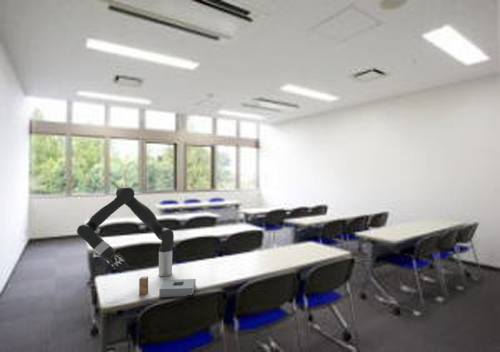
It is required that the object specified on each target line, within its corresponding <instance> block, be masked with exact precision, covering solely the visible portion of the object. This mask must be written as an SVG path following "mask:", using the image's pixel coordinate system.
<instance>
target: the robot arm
mask: <svg viewBox="0 0 500 352" xmlns="http://www.w3.org/2000/svg"><path fill="white" fill-rule="evenodd" d="M115 195H116V196H115V198H114V199H112V200H111V201H110V202H109V203H107V204H106V205H104V206H103V207H102V208H100V209H98V210H97V211H96V212H95V213H94V214H93V215H92V216H91V217H90V218H89V220H88V221H87V223H85V224H80V225H79V226H78V227H77V229H76V233H77V235H78V236H79V237H80V238H82V239H83V240H84V241H85V242H86V243H87V244H88V245H89V246H90V248H92V249H93V250H94V251H95V253H96V254H97V255H98V256H99V257H100V258H102V260H103V261H104V262H105V264H106V265H107V266H108V267H109V268H111V270H116V271H117V273H120V274H121V273H122V272H123V268H125V269H127V268H129V264H128V263H127V262H126V261H125V260H126V259H125V258H124V256H122V255H121V254H120V253H119V252H117V253H116V250H115V249H114V247H112V246H111V245H110V244H109V243H107V241H105V240H104V239H103V238H102V237H101V236H100V235H99V234H97V232H96V230H97V229H98V228H99V227H100V226H101V225H102V224H103V223H104V222H105V221H106V220H108V219H109V218H110V216H111V215H113V214H115V212H116V211H118V209H120V208H121V207H123V206H124V205H126V207H128V208H129V209H130V211H131V212H132V213H133V214H134V215H135V216H136V217H137V218H138V219H139V221H141V223H143V224H144V225H145V226H146V227H148V228H149V229H150V230H151V231H152V232H153V234H154V235H155V236H156V238H157V239H159V240H160V241H161V245H160V246H159V248H158V276H160V277H169V276H171V275H173V248H174V239H175V238H174V237H175V236H174V234H175V233H174V231H173V229H171V228H168V227H164V226H163V225H162V224H161V223H160V222H159V221H158V218H157V217H156V214H155V213H154V212H153V211H152V210H151V209H150V208H149V207H148V206H147V205H145V204H144V203H142V202H141V201H139V200H138V199H137V198H136V197H135V190H134V189H133V188H131V187H129V186H121V187H119V188H117V189H116V192H115ZM119 264H120V265H121V266H122V267H123V268H122V267H120V266H119Z"/></svg>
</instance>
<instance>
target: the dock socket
mask: <svg viewBox="0 0 500 352" xmlns="http://www.w3.org/2000/svg"><path fill="white" fill-rule="evenodd" d="M196 280H197V279H196V278H185V279H184V278H183V279H181V278H179V279H176V278H175V279H164V282H163V283H162V284H161V286H160V287H159V293H158V294H159V295H158V296H159V298H165V297H170V298H171V297H188V296H187V295H192V294H193V295H194V292H195V289H196V286H197V285H196Z"/></svg>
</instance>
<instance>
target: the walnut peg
mask: <svg viewBox="0 0 500 352" xmlns="http://www.w3.org/2000/svg"><path fill="white" fill-rule="evenodd" d="M138 281H139V283H138V284H139V285H138V287H139V289H138V295H139V296H146V295H147V294H148V293H149V276H141V277H140V278H139V280H138Z"/></svg>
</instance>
